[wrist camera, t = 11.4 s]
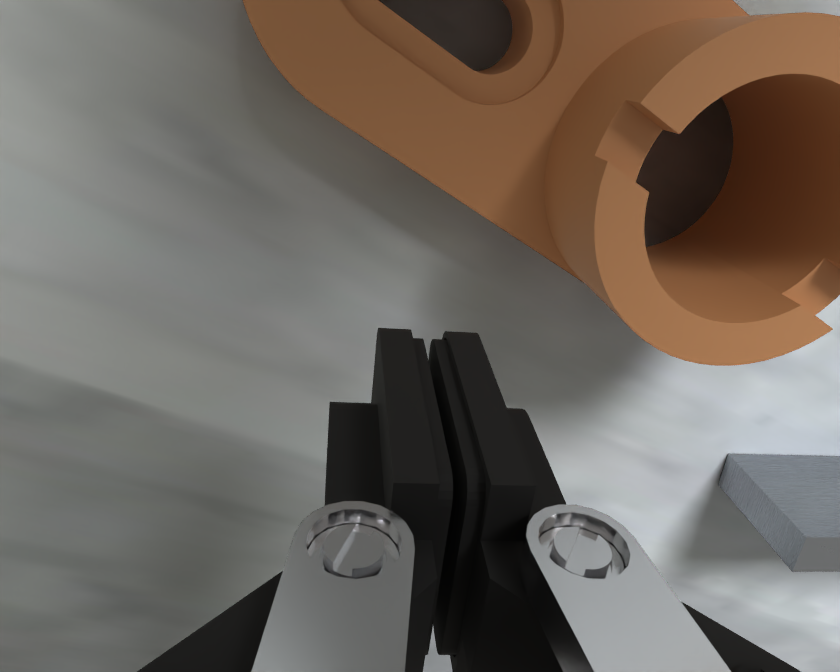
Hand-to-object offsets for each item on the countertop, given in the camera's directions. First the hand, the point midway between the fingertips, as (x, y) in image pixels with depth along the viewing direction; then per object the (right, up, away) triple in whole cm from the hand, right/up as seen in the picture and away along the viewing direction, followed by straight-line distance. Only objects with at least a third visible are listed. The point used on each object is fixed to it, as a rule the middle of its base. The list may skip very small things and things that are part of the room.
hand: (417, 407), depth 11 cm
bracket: (+3, +9, +9) cm, 14 cm away
